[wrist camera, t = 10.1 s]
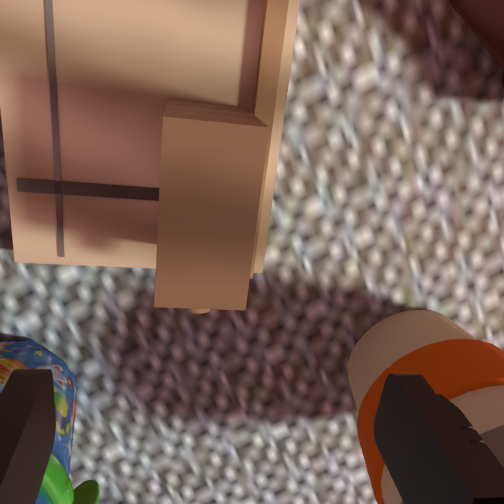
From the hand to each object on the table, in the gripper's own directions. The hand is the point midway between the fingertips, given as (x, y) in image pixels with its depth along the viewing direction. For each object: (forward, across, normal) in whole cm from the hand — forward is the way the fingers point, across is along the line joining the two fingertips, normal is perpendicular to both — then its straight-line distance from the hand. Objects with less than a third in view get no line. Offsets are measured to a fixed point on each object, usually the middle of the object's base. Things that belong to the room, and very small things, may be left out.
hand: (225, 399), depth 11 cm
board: (+18, +3, -6) cm, 19 cm away
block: (+16, 0, -1) cm, 16 cm away
